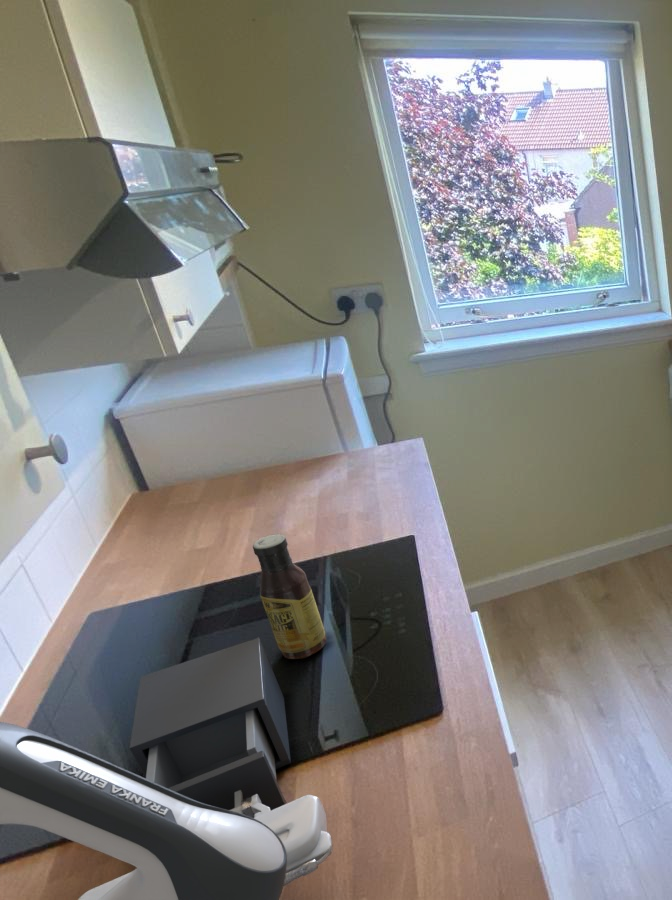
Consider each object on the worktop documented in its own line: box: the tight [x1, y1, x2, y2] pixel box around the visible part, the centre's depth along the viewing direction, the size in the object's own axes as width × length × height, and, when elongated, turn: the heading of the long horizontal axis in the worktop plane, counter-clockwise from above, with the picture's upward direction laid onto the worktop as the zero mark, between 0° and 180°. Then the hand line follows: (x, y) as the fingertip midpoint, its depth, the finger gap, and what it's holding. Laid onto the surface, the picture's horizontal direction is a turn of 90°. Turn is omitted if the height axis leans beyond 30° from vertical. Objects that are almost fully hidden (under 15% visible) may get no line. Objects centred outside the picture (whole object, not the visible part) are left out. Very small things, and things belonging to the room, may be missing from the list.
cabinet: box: [128, 637, 292, 778], centre depth 94 cm, size 15×13×11 cm
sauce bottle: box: [252, 533, 328, 660], centre depth 111 cm, size 6×6×20 cm
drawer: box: [146, 708, 288, 815], centre depth 85 cm, size 18×12×9 cm, turn 36°
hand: (210, 818), depth 79 cm, fingers closed on drawer, 6 cm apart
